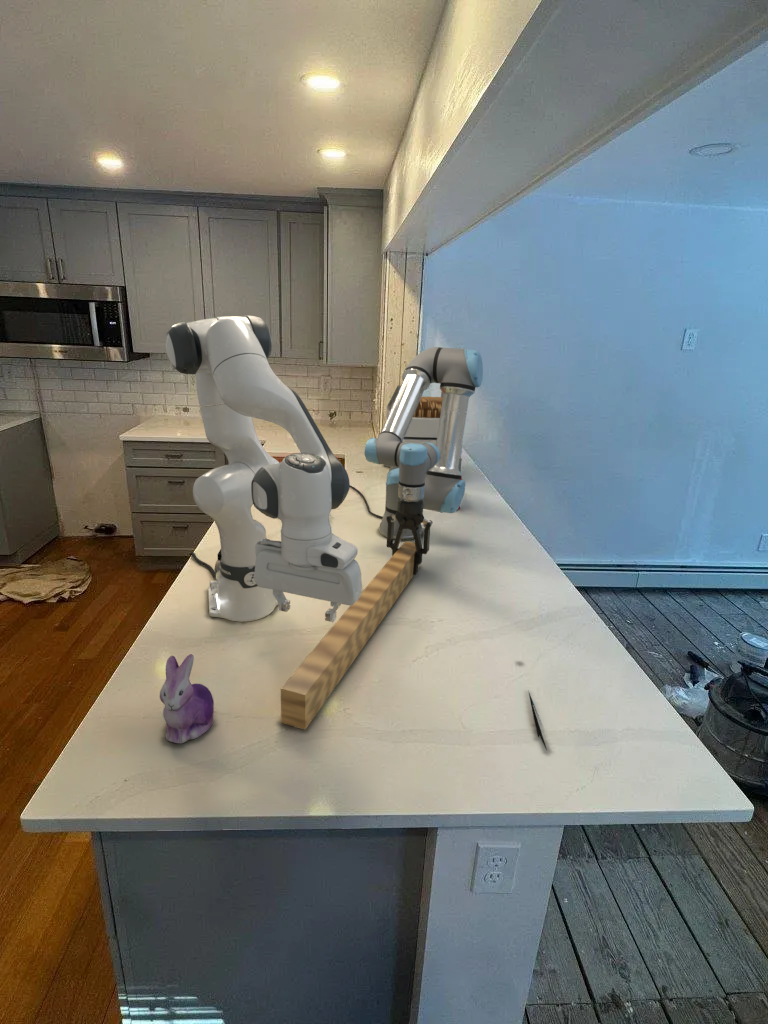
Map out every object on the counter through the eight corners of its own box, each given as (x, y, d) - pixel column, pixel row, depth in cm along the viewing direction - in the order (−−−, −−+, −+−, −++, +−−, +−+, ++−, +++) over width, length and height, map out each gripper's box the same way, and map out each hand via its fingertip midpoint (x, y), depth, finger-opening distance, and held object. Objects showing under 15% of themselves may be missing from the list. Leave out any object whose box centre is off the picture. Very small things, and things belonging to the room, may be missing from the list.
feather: (520, 667, 129) (525, 661, 129) (546, 754, 103) (553, 747, 102) (514, 663, 129) (519, 657, 129) (538, 750, 103) (545, 742, 102)
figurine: (167, 753, 99) (159, 681, 94) (159, 717, 107) (151, 649, 102) (222, 737, 103) (217, 667, 98) (210, 703, 111) (205, 637, 106)
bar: (403, 563, 177) (405, 540, 174) (419, 566, 175) (421, 543, 172) (281, 722, 107) (280, 688, 105) (305, 729, 106) (305, 695, 103)
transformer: (382, 463, 289) (386, 382, 275) (445, 464, 293) (451, 384, 279) (390, 482, 257) (394, 392, 243) (460, 483, 261) (468, 394, 247)
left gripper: (245, 543, 101) (249, 612, 105) (352, 562, 94) (351, 634, 99) (264, 531, 106) (266, 597, 111) (366, 548, 100) (364, 617, 105)
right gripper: (376, 497, 162) (373, 570, 170) (438, 506, 156) (432, 582, 164) (385, 490, 169) (381, 561, 176) (444, 499, 163) (438, 572, 171)
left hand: (307, 615), depth 105 cm, fingers open, 8 cm apart
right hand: (406, 571), depth 170 cm, fingers closed on bar, 5 cm apart
